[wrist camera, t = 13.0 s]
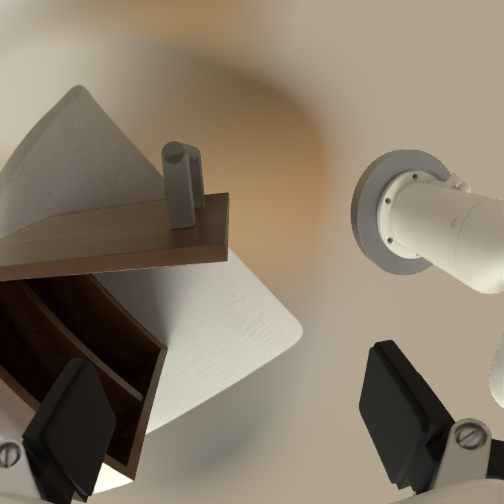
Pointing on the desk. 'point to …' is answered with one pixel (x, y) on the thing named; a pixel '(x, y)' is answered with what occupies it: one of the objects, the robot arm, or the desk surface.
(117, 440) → the cupboard
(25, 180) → the desk surface
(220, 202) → the door
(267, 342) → the desk surface
